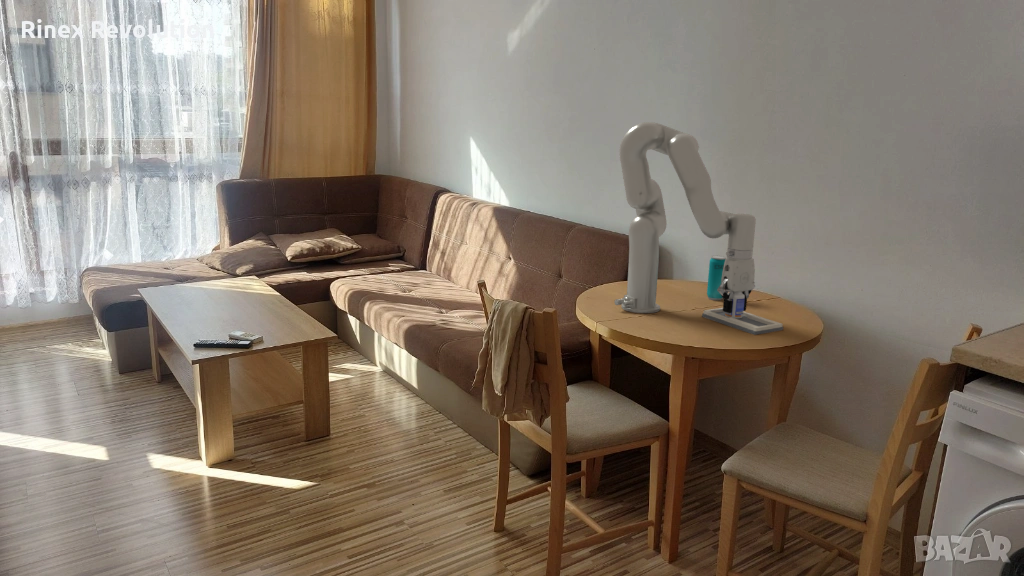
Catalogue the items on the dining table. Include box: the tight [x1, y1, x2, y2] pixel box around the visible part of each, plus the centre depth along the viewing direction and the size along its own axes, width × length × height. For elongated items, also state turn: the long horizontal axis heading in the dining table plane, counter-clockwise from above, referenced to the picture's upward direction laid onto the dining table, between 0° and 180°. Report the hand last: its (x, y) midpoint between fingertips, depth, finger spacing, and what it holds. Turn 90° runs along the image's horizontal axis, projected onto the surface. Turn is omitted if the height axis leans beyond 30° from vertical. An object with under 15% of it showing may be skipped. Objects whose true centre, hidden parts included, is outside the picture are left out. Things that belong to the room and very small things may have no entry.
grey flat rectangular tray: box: [701, 307, 784, 336], centre depth 232 cm, size 12×22×2 cm, turn 29°
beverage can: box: [706, 255, 727, 301], centre depth 260 cm, size 6×6×15 cm
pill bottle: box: [725, 291, 745, 319], centre depth 233 cm, size 5×5×10 cm
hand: (734, 310), depth 234 cm, fingers closed on pill bottle, 5 cm apart
